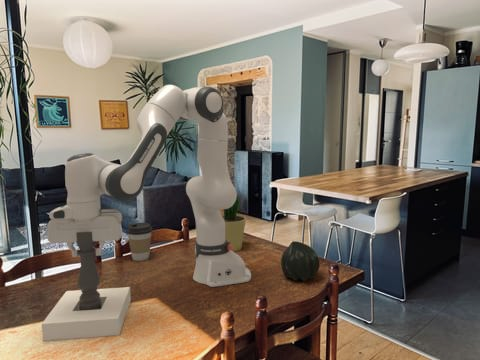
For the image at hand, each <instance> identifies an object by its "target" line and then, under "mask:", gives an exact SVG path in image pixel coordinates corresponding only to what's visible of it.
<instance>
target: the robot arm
mask: <svg viewBox="0 0 480 360" xmlns="http://www.w3.org/2000/svg"><path fill="white" fill-rule="evenodd" d="M179 119H180V120H181V119H182V120H186V121H187V120H189V121H191V120H192V121H196V123H197V124H198V134H197V136H198V137H197V152H196V154H197V155H196V160H197V163H198V165H199V167H200V169H201V174H202V175H197V176H194V177H191V178H190V179H189V180H188V181H187V183H186V185H185V192H186V195H187V196H188V199H189V201H190V204H191V207H192V212H193V215H194V216H193V217H194V219H195V230H196V231H195V236H196V241H195V245H194V249H195V251H194V254H195V257H196V259H195V265H194V266H195V267H194V272H193V275H192V279H193V280H194V281H195V282H196V283H199V284H202V285H207V286H209V287H212V288H214V287H221V286H222V287H223V286H228V285H233V284H234V285H235V284H241V283H248V282H250V281H251V279H252V274H251V270H250V269H249V268H248V267H247V266H246V265H245V261H244V259H243V258H242V257H241V256H240V255H239V254H237V253H236V252H235V251H232V249H233V246H232V245H231V244H230V242H229V241H228V240H227V241H226V240H225V221H224V218H223V217H222V215H223V214H222V213H221V211H220V210H223V209H228V208H230V207H231V206H232V205H233V204H234V203H235V201H236V198H237V196H238V193H237V192H238V191H236V190H237V189H236V187H235V186H234V184H233V183H232V180H231V176H230V173H229V167H228V144H229V143H228V141H229V128H228V120H227V119H228V118H227V116H226V114H225V113H224V99H223V96H222V94H221V92H220V91H219V90H218V89H216V88H215V87H211V86H203V87H201V86H197V87H195V86H194V87H192V88H188V89H181V88H180V87H179V86H177V85H175V84H165V85H164V86H162V87H161V88H160V89H158V91H156V93H154V94H153V95H152V97H151V98H150V99H149V100H148V102H147V103H145V105H144V106H143V107H142V108H141V111H140V113H139V115H138V116H137V119H136V125H137V128H138V131H139V132H140V134H141V139H140V141H139V142H138V144H137V146H136V148H135V149H134V151H133V152H132V154H131V156H130V157H129V158H128V160H127V161H125V162H124V163H122V164H118V163H114V162H112V161H111V162H110V161H108V160H105V159H103V158H100V157H98V155H95V154H94V153H91V152H87V153H86V152H85V153H79V154H75V155H72V156H70V157H69V158H67V159H66V162H65V168H64V180H65V189H66V191H67V198H66V204H65V205H61V206H59V207H56V208H54V209H52V210H51V211H50V212H49V214H48V215H49V219H50V220H49V221H48V223H47V232H46V235H47V236H46V237H47V241H48V242H49V243H50V244H65V243H66V246H67V248H68V249H69V250H70V252H71V256H72V257H73V258H74V257H75V258H76V257H78V258H79V257H80V255H78V250H80V248H78V249H77V248H76V247H75V245H74V244H75V243H76V242H77V236H76V233H80V232H92V240H93V241H96V242H98V245H100V247H97V248H95V249H96V253H95V256H96V257H97V256H99V257H100V256H102V255H103V249H104V246H105V244H106V242H108V241H110V242H111V241H119V240H120V239H121V238H122V237H123V227H122V221H123V214H122V212H121V211H120V210H118V209H116V208H110V209H109V208H104V209H103V208H101V196H102V195H106V196H111V197H112V198H114V199H115V200H117V201H120V202H129V201H132V200H134V199H136V198H137V197H138V196H140V194H142V193H141V192H142V191H143V189H144V186H145V181H146V178H147V176H148V173H149V171H150V169H151V167H152V165H153V164H154V162H155V161H156V159H157V157H158V155H159V153H160V152H161V150H162V149H163V147H164V145H165V143H166V141H167V138H168V136H169V133H170V132H171V130H172V129H173V128H174V126H175V124H176V123H177V122H178V120H179Z"/></svg>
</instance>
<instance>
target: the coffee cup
mask: <svg viewBox="0 0 480 360" xmlns="http://www.w3.org/2000/svg"><path fill="white" fill-rule="evenodd" d="M127 227H128V228H127V229H126V231H125V232H126V234H127V238H128V244H129V250H130V255H131V258H132V260H133V261H135V262H143V261H146V260H148V259H149V258H150V252H151V239H152V232H153V227H152V226H151V223H147V222H136V223H135V222H134V223H131V224H129V225H128V226H127Z"/></svg>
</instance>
